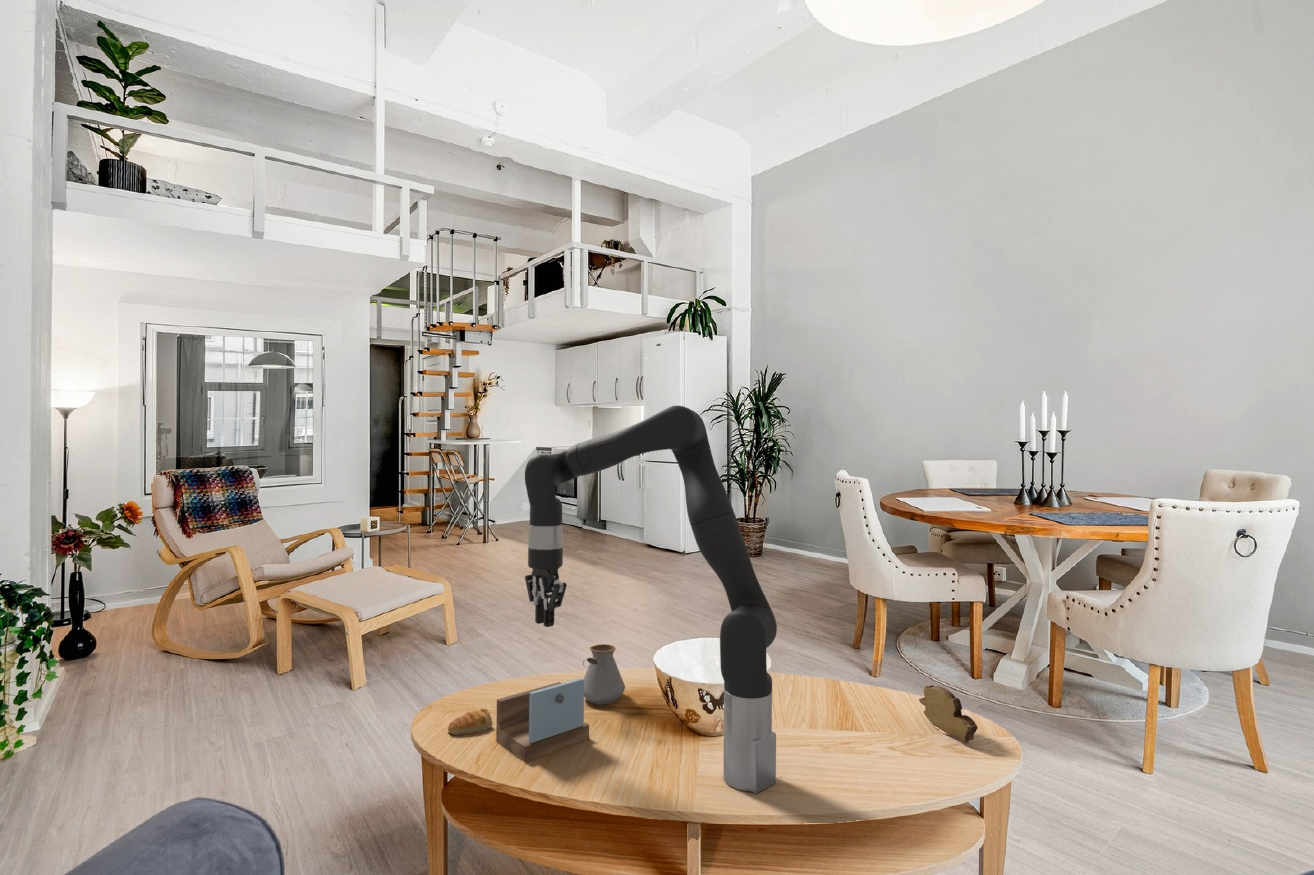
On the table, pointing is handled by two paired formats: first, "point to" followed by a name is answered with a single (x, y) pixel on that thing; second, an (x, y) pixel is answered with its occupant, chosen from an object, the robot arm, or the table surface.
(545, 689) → the light blue flat panel
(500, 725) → the brown wooden l-shaped piece
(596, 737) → the table surface
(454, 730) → the pastry
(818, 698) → the table surface
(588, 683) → the coffee pot
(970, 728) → the wooden carving
